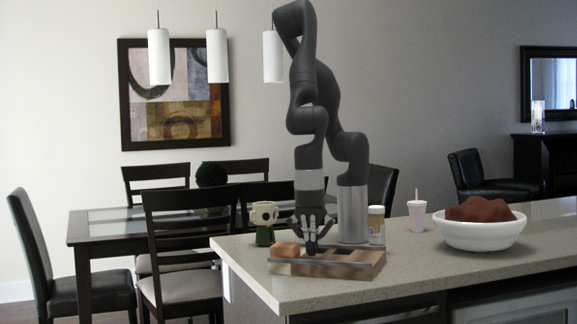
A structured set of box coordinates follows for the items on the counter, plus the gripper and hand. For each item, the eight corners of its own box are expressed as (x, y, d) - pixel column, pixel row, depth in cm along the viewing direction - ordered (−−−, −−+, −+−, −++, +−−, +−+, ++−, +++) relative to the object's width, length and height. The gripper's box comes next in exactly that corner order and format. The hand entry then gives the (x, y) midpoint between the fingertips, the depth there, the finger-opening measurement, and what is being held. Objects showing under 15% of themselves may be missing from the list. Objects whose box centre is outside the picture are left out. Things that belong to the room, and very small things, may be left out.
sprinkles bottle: (365, 255, 158) (364, 206, 156) (374, 251, 161) (373, 204, 160) (380, 257, 155) (379, 207, 154) (389, 253, 158) (387, 205, 157)
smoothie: (405, 233, 184) (404, 189, 183) (409, 229, 190) (408, 186, 189) (426, 233, 182) (425, 189, 181) (429, 229, 188) (428, 187, 187)
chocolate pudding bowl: (414, 245, 167) (413, 193, 166) (484, 235, 176) (484, 186, 175) (471, 264, 144) (470, 205, 143) (548, 252, 153) (548, 196, 152)
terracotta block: (300, 255, 148) (299, 242, 147) (293, 261, 142) (292, 247, 142) (278, 254, 149) (277, 241, 149) (270, 260, 144) (269, 246, 144)
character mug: (258, 250, 168) (256, 206, 167) (244, 246, 174) (242, 204, 173) (286, 243, 175) (285, 201, 174) (272, 240, 181) (270, 199, 180)
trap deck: (386, 261, 150) (386, 246, 150) (371, 281, 133) (371, 264, 133) (292, 256, 159) (292, 242, 159) (268, 274, 143) (267, 258, 142)
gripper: (339, 185, 144) (341, 253, 146) (290, 184, 149) (292, 250, 150) (330, 189, 137) (332, 260, 139) (279, 188, 142) (281, 257, 144)
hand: (311, 255), depth 145 cm, fingers closed
